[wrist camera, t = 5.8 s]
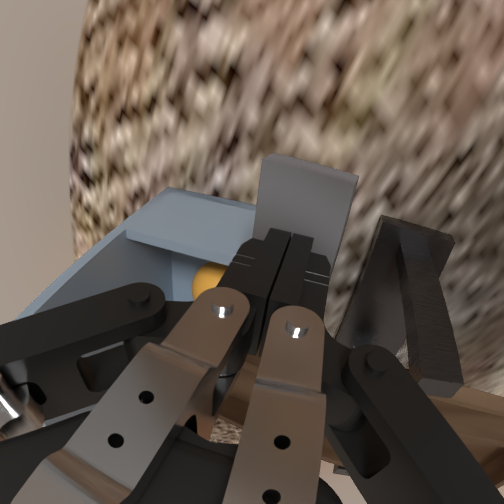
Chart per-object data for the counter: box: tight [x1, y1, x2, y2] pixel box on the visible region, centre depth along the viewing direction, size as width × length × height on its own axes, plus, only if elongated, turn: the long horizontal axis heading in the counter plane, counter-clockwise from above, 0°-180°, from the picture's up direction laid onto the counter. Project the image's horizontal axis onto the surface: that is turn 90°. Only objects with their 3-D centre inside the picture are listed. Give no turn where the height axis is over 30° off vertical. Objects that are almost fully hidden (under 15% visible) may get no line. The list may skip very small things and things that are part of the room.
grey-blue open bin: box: [15, 187, 256, 427], centre depth 17 cm, size 10×10×16 cm
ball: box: [191, 261, 228, 301], centre depth 21 cm, size 4×4×4 cm
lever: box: [218, 153, 504, 489], centre depth 11 cm, size 14×18×3 cm
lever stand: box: [333, 215, 464, 476], centre depth 17 cm, size 13×5×11 cm, turn 173°
